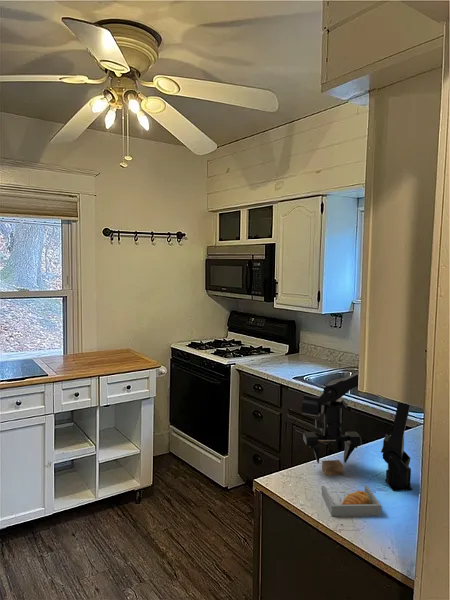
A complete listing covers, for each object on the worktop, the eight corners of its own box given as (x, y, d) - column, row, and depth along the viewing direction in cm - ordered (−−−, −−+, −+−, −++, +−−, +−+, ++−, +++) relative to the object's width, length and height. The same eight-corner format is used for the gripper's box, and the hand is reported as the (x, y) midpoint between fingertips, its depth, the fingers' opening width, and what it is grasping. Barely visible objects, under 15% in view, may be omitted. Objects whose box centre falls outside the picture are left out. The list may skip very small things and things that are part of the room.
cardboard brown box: (338, 469, 159) (338, 459, 158) (343, 475, 155) (343, 465, 154) (321, 470, 158) (322, 460, 157) (325, 476, 154) (326, 466, 154)
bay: (367, 494, 142) (367, 485, 142) (380, 515, 131) (380, 505, 131) (321, 495, 142) (322, 485, 141) (331, 516, 130) (331, 506, 130)
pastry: (354, 518, 130) (355, 505, 129) (335, 508, 135) (335, 496, 134) (373, 507, 136) (374, 494, 135) (354, 497, 141) (354, 485, 140)
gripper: (352, 410, 164) (351, 452, 165) (300, 410, 163) (299, 452, 165) (363, 421, 152) (361, 466, 154) (307, 422, 152) (306, 467, 154)
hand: (331, 462), depth 157 cm, fingers open, 9 cm apart
